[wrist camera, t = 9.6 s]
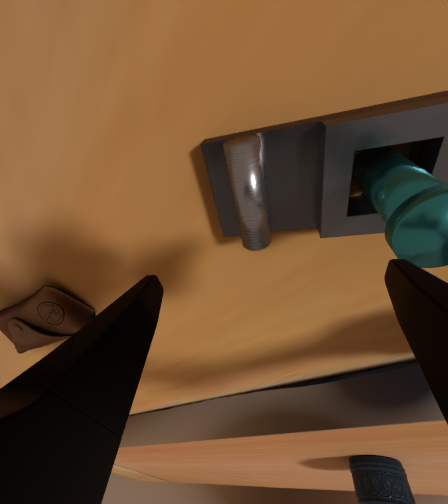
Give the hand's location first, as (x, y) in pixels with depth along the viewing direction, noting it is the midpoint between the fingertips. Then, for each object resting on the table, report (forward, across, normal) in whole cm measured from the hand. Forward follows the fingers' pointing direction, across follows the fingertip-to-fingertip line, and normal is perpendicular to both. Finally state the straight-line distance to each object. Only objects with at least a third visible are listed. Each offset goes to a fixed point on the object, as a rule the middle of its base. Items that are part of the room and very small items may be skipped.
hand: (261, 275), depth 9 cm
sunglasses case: (+13, +36, +15) cm, 41 cm away
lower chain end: (+12, -8, +1) cm, 14 cm away
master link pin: (+12, -8, +1) cm, 14 cm away
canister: (+12, -21, +83) cm, 86 cm away
